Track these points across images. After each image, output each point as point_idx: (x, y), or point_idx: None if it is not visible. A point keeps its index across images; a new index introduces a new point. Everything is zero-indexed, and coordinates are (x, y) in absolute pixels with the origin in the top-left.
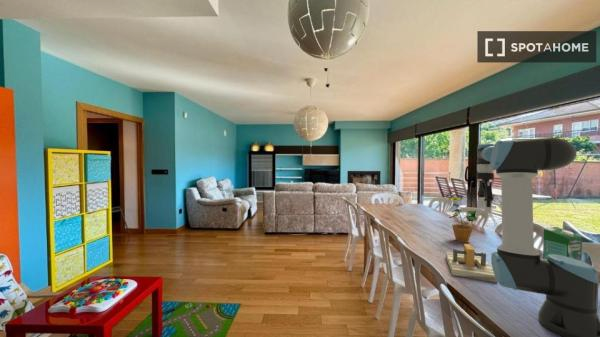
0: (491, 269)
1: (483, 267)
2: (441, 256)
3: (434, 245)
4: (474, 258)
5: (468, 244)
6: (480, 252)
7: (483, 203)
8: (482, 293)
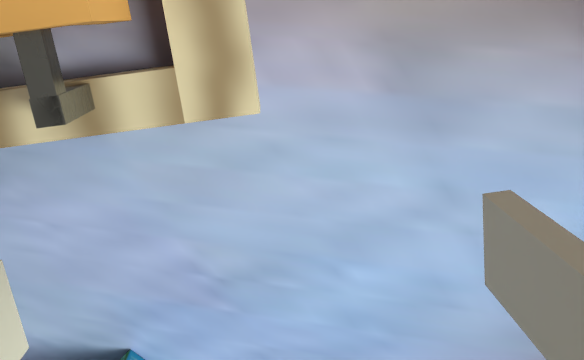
0: (15, 138)
1: (20, 95)
2: None
3: None
4: (187, 51)
5: (79, 2)
6: (49, 91)
7: (535, 330)
8: None
